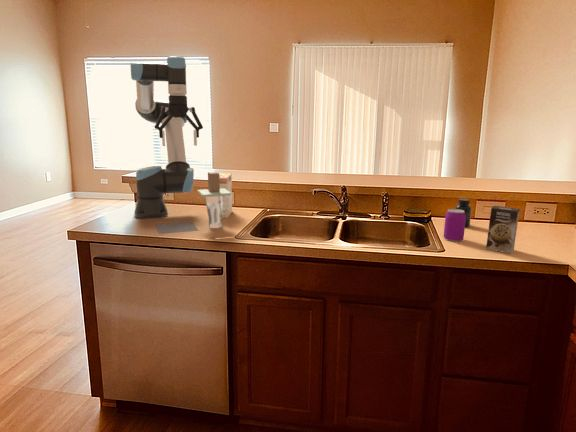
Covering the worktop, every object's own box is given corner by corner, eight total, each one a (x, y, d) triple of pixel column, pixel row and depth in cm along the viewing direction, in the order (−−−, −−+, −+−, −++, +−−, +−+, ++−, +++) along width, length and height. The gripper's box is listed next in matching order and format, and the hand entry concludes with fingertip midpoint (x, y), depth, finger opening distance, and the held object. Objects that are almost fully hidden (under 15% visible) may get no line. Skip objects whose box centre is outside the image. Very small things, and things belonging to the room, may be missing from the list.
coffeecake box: (218, 211, 222) (217, 172, 218) (232, 211, 222) (232, 173, 218) (212, 218, 208) (211, 177, 203) (227, 218, 208) (226, 177, 203)
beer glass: (219, 230, 187) (219, 195, 183) (204, 229, 188) (203, 194, 185) (225, 226, 194) (224, 192, 190) (210, 225, 195) (209, 191, 191)
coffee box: (485, 249, 165) (490, 207, 161) (488, 245, 170) (493, 204, 166) (512, 254, 160) (518, 211, 156) (514, 249, 165) (520, 208, 161)
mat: (155, 225, 193) (155, 224, 193) (191, 222, 199) (191, 221, 199) (159, 234, 179) (158, 233, 179) (198, 231, 184) (198, 230, 184)
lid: (197, 192, 191) (196, 171, 188) (224, 190, 195) (224, 170, 193) (202, 197, 180) (202, 175, 178) (231, 195, 184) (230, 174, 182)
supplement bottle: (470, 224, 202) (473, 199, 199) (469, 227, 196) (472, 201, 193) (454, 222, 205) (456, 197, 202) (453, 226, 199) (455, 200, 196)
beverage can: (445, 241, 175) (448, 212, 172) (441, 236, 182) (444, 208, 179) (465, 242, 174) (468, 213, 171) (460, 237, 181) (463, 208, 178)
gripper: (147, 94, 178) (151, 146, 183) (208, 95, 188) (210, 145, 193) (146, 94, 185) (149, 145, 190) (204, 96, 194) (206, 144, 199)
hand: (179, 145), depth 191 cm, fingers open, 13 cm apart
